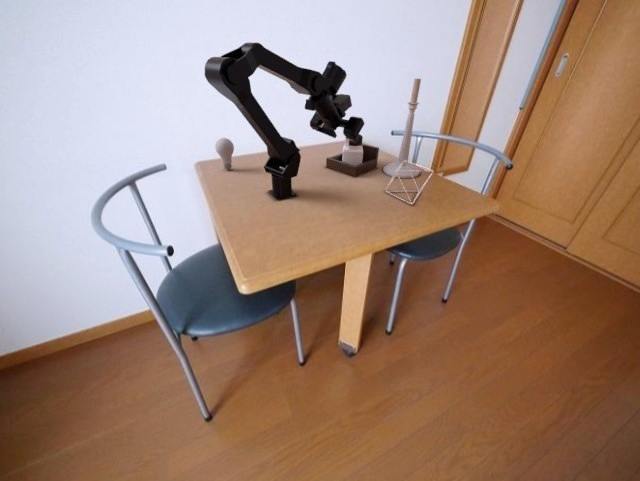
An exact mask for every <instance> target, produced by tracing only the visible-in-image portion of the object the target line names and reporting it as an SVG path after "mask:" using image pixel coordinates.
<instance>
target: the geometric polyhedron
mask: <svg viewBox="0 0 640 481" xmlns="http://www.w3.org/2000/svg"><path fill="white" fill-rule="evenodd" d="M404 161H405V163H406V160H404ZM404 161H403V162H402V164H401V165H400V166H399V167H400V168H401V166H402V165H403V163H404ZM407 162H408V164H411V165H414V166H418V167H420V168H423V169H426V170H427V171H430V172H431V173H430V175H429V176H428V178H427V179H426V180H425V181H424V183H423V184H422V186H421V187H420V188H419V186H418V185H417V183H416V180H415V177H413V176H412V174H411V172H410V174H411V176H412V178H411V179H412V180H413V182H414V184H415V187H416V188H417V190H406V187H405V186H404V184H403V181H402V178H400V177H399V175H398V171H399V170H400V168H399V167H398V168H397V170H398V169H399V170H398V171H397V170H396V171H395V173H396V174H397V175H398V177H399V178H398V177H397V178H398V179H399V182H400V183H401V186H402V187H403V190H388V189H389V188H390V186H391V184H392V183H393V181H394V180H395V178H396V177H395V176H396V174H395V173H394V175H395V176H394V175H393V176H391V179H390V181H389V183H388V185H387V187H386V188H385V193H387V194H389V195H391V196H394V197H396V198H398V199H399V200H402V201H403V202H406V203H408V204H410V205H414V203H416V200H417V198H418V197H419V195H420V194H421V193H422V191H423V189H424V188H425V186H426V185H427V183H428V181H429V180H430V179H431V177H432V175H433V174H434V173H435V171H434V169H431V168H428V167H425V166H423V165H420V164H417V163H415V162H411V161H409V160H408V161H407ZM406 165H407V163H406ZM407 167H408V165H407ZM408 169H409V167H408ZM409 171H410V170H409ZM393 192H396V193H397V192H400V193H401V192H405V194H406V196H407V198H408V200H409V201H407V200H405V199H403V198H401V197H399V196H397V195H395V194H393ZM408 192H409V193H411V192H416V195H415V197H414V199H413V201H412V200H411V198H410V196H409V194H408Z"/></svg>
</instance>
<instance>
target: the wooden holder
mask: <svg viewBox="0 0 640 481" xmlns="http://www.w3.org/2000/svg"><path fill="white" fill-rule="evenodd" d="M362 147H363V159H362V163H361V164H358V165H351V164H348V163H345V162H342V155H343V152H341V153H338V154H335V155H332V156H329V157H326V160H325V168H327V169H330V170H332V171H336V172H339V173H342V174H345V175H348V176H350V177H352V178H353V177H354V178H356V177H358V176H360V175H363V174H365V173H368V172H370V171H373V170H375V169H377V168H378V167H377V166H378V160H379V151H380V147H377V146H374V145H369V144H366V143H362Z"/></svg>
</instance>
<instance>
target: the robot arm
mask: <svg viewBox="0 0 640 481" xmlns="http://www.w3.org/2000/svg"><path fill="white" fill-rule="evenodd" d="M257 69H260V70H262V71H264V72H267V73H268V74H270V75H272V76H274V77H276V78H278V79H280V80H282V81H285V82H286V83H287V84H288V85H289V86H290V88H291V89H293V90H294V91H295V92H296V93H297V94H299V95H300V94H301V95H304V96H305V95H306V96H309V97H308V98H307V99H305V104H304V110H306V111H311V112H313V111H314V114H313V115H312V117H311V119H310V121H309V127H310V128H311V129H312V130H314V131H316V132H319V133H321V134H323V135H327V136H328V137H331V138H333V139H336V138H337V136H338V135H337V133H336V130H337V129H338V128H342V130H343V131H342V135H343V136H344V137H345V136H346V138H347V139H349V140H351V141H352V142H354V143H357V142H358V134H360V132H361V131H362V129H363V127H364V125H365V121H364V119H363V117H359V116H354V115H352V116H350V117H349V119H345V117H346V115H347V113H346V112H347V111H348V110H349V109H350V108H352V107H353V104H352V98H351V95H350V94H343V93H338V92H339V90H340V89H341V87H342V85H343V84H344V82H345V80H346V79H347V75H348V74H347V72H346V70H345V69H343V67H342V66H340V65H338V64H337V63H336V61H330V60H329V61H328V62H327V64H326V66H325V68H324V70H323V72H322V73H321V72H320V71H317V70H313V69H311V68H305V67H301V66H298V65H296V64H295V63H292V62H290V61H289V60H287V59H286V58H284V57H282V56H280V55H278V54H277V53H275V52H273V51H272V50H270V49H267V48H266V47H265V46H263V45H262V44H261V43H259V42H245V43H243V44H242V45H241V46H239V47H237V48H234V49H233V50H231V51H227V53H224V54H222V55H221V56H212V57H209V58H208V59H207V60H206V62H205V65H204V77H205V79H206V81H207V83H208V84H209V85H210V86H211V87H213V89H215V90H216V91H217V92H218V93H219V94H220V95H221V96H223V97H224V98H226V99H227V100H228V101H230V102H232V104H234V106H235V107H236V108H237V109H238V111H239V112H240V113H241V115H242V116H243V118H244V119H245V120H246V121H247V122H248V124H249V125H250V127H251V128H252V129H253V130H254V131H255V133H256V135H257V136H258V137H259V139H261V141H262V142H263V143H264V145H265V146H266V150H267V152H266V153H267V155H268V158H267V160H266V162H265V163H264V164H263V169H264V171H265V173H267V174H270V175H271V187H272V189H269V190H268V193H269V194H270V195H271V196H272V197H273V198H274V199H275V200H277V201H278V200H282V199H287V198H292V197H295V196H297V193H296V192H295V191H294V190H293V184H292V181H293V180H292V179H293V178H295V177H298V173H299V168H300V165H301V158H302V155H301V153H300V151H301V149H300V148H298V146H297V144H296V142H295V141H294V140H293V139H291V138H288V137H284V136H282V135H281V133H280V132H279V131H278V129H277V128H276V126H275V125H274V124H273V122H272V120H271V119H270V118H269V116H268V115H267V113H266V112H265V110H264V109H263V107H262V106H261V105H260V103H259V102H258V100H257V99H256V97H255V96H254V94H253V92H252V87H251V80H250V77H252V75H254V74H255V72H256V70H257Z"/></svg>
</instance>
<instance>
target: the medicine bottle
mask: <svg viewBox="0 0 640 481" xmlns="http://www.w3.org/2000/svg"><path fill="white" fill-rule="evenodd" d="M344 137H345V138H344V145H343V146H342V153H343V155H342V162H345V163H348V164H351V165H358V164H361V163H362V159H363V147H362V144H363V137H364V136H363V135H362V134H360V133H359V134H358V142H357V143H354V142H352V141H351V140H349V139H347V138H346V136H344Z"/></svg>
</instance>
